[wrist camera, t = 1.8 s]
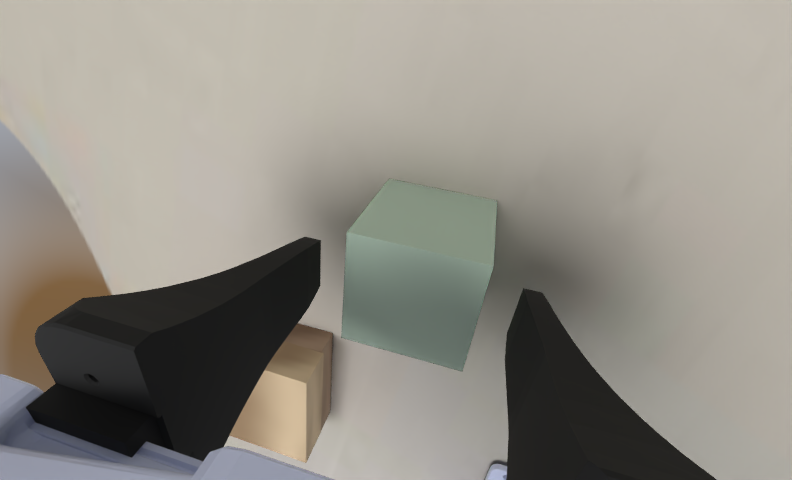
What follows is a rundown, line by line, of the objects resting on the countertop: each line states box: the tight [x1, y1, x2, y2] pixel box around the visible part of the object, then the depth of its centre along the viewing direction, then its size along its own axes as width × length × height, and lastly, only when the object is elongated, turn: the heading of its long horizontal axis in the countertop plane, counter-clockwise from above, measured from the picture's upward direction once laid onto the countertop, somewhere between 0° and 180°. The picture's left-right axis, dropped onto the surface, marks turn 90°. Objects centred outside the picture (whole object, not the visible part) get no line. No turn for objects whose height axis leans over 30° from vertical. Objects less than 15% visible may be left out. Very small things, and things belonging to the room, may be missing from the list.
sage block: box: [341, 179, 497, 371], centre depth 14 cm, size 4×4×5 cm
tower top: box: [230, 341, 324, 463], centre depth 21 cm, size 7×7×2 cm
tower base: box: [285, 323, 333, 430], centre depth 23 cm, size 7×7×2 cm
